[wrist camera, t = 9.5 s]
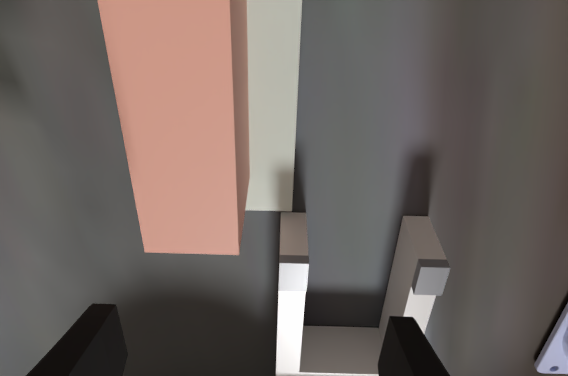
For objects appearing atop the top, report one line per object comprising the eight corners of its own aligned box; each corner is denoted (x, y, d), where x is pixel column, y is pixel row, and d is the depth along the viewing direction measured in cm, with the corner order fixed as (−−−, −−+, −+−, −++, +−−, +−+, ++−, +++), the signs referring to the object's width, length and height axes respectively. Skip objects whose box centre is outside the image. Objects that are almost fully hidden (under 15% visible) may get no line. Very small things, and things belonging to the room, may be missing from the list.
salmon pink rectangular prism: (245, -95, 14) (226, -90, 10) (249, 177, 20) (238, 255, 15) (142, -99, 14) (79, -94, 10) (175, 175, 19) (145, 252, 15)
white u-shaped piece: (428, 216, 21) (454, 276, 18) (385, 382, 29) (398, 447, 25) (280, 212, 21) (279, 271, 18) (275, 379, 29) (273, 444, 25)
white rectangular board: (308, -141, 14) (308, -142, 13) (291, 203, 21) (291, 211, 20) (80, -149, 14) (72, -151, 13) (141, 199, 21) (137, 206, 20)
